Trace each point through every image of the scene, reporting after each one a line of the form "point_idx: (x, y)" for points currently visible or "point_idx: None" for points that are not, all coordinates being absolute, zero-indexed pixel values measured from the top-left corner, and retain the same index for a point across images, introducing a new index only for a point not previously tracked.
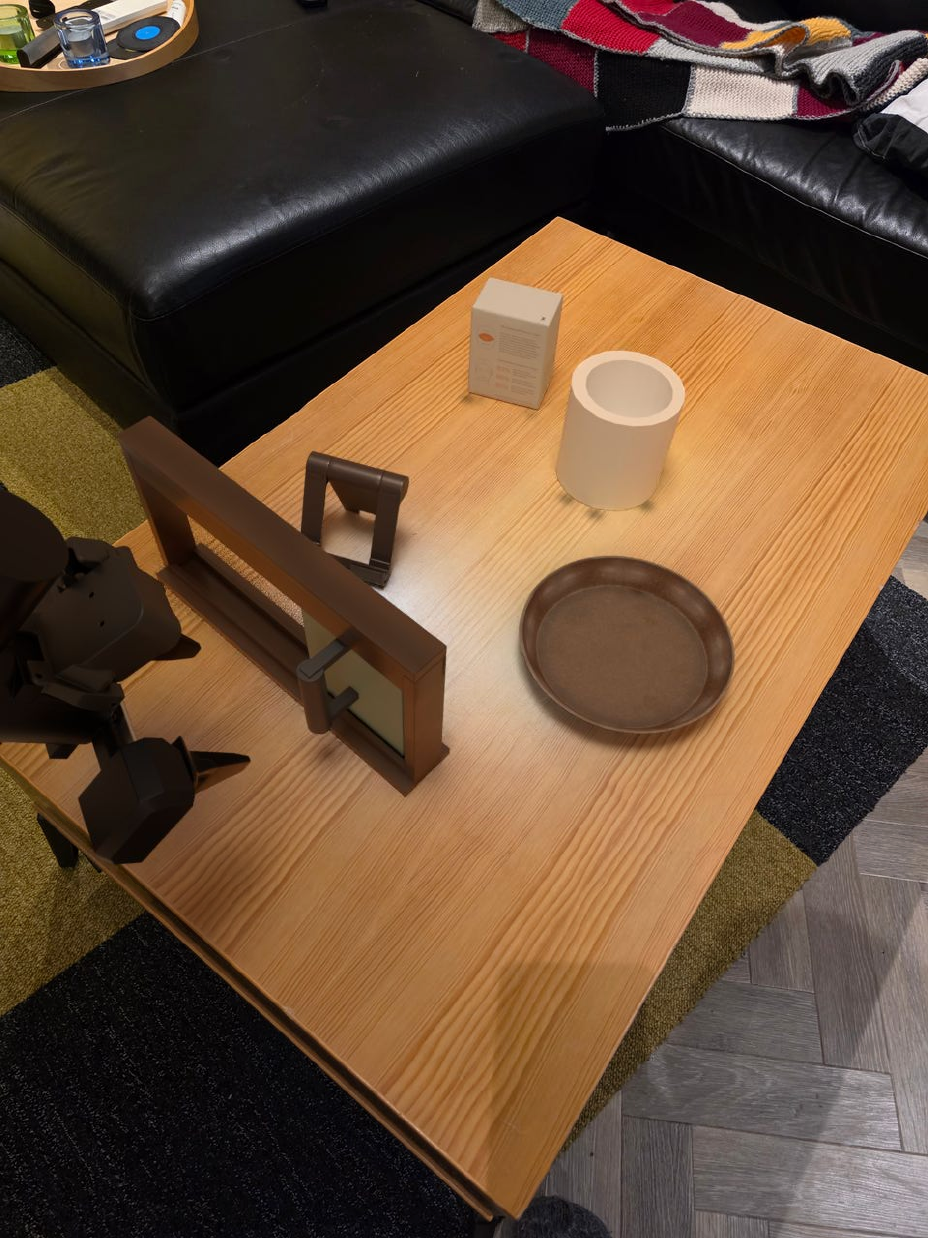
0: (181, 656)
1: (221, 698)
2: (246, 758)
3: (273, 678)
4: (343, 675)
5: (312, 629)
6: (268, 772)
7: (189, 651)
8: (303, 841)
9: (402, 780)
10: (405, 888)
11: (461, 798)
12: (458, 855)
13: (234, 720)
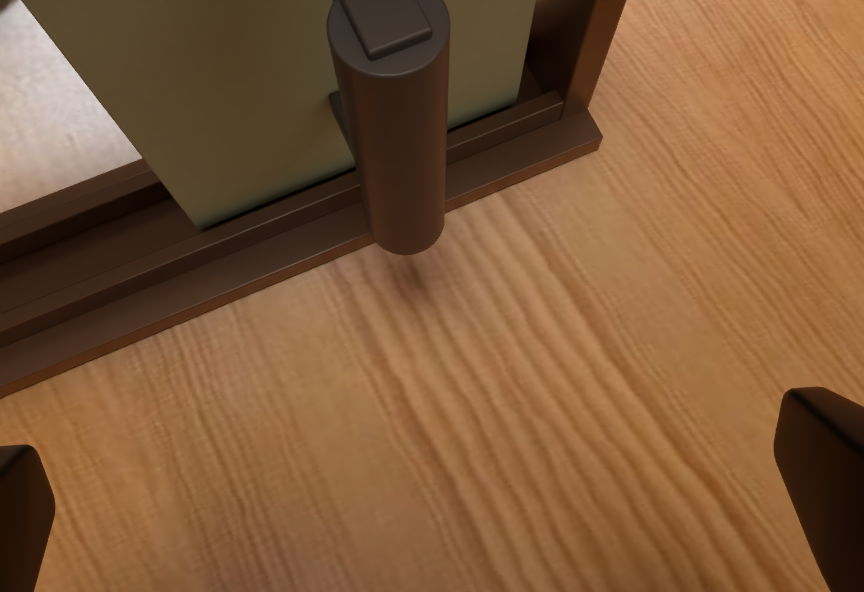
0: (26, 569)
1: (120, 494)
2: (832, 398)
3: (135, 334)
4: (299, 84)
5: (127, 49)
6: (403, 436)
7: (21, 514)
8: (627, 410)
9: (570, 131)
10: (818, 226)
11: (645, 41)
12: (775, 96)
13: (207, 479)
